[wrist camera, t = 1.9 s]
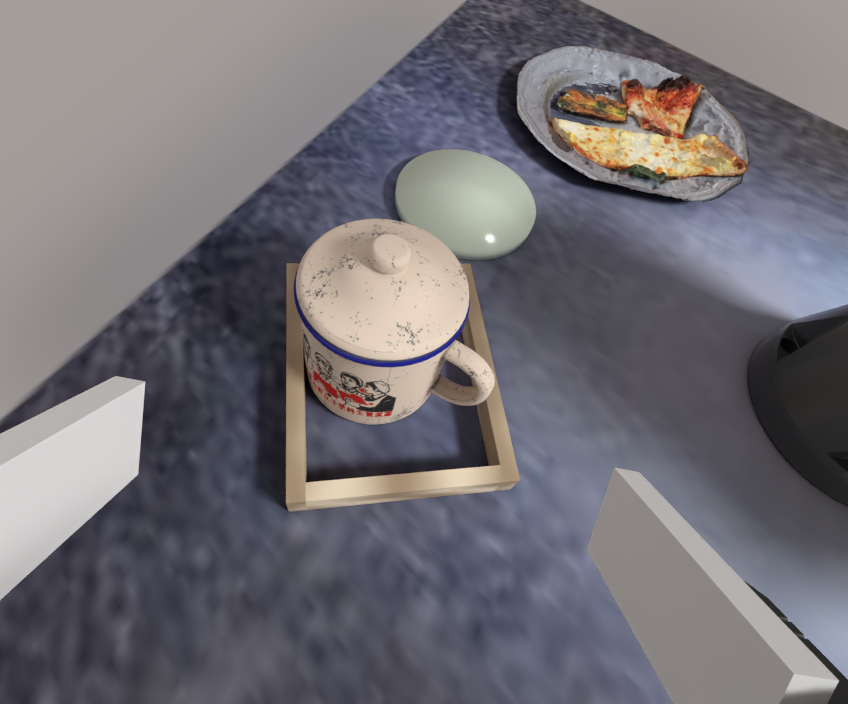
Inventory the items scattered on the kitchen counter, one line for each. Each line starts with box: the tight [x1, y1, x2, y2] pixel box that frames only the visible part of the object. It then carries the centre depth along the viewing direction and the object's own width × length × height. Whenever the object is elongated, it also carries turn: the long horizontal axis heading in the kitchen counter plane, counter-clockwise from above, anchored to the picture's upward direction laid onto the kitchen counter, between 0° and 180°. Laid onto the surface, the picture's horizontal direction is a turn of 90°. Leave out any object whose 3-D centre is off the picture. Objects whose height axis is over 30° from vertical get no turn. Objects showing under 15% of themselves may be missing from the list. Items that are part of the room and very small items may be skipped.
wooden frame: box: [286, 263, 520, 512], centre depth 31 cm, size 13×16×2 cm
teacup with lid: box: [294, 219, 495, 424], centre depth 27 cm, size 12×9×12 cm
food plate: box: [516, 46, 749, 202], centre depth 50 cm, size 25×23×4 cm
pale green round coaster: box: [395, 149, 536, 261], centre depth 41 cm, size 12×12×1 cm
